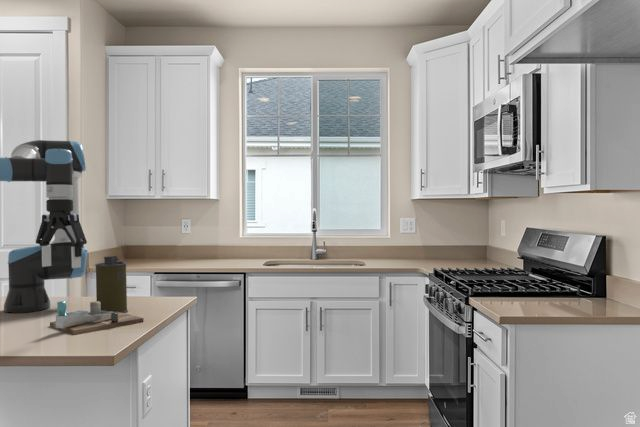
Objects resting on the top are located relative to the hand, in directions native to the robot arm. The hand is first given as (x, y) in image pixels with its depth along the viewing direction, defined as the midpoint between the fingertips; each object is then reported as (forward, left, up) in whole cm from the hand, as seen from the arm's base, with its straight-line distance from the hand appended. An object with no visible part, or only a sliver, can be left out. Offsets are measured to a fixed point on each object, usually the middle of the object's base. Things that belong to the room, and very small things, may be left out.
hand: (61, 267), depth 166 cm
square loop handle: (+6, +4, -17) cm, 19 cm away
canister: (-10, +21, -19) cm, 30 cm away
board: (+5, +9, -19) cm, 21 cm away
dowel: (+12, +11, -19) cm, 25 cm away
